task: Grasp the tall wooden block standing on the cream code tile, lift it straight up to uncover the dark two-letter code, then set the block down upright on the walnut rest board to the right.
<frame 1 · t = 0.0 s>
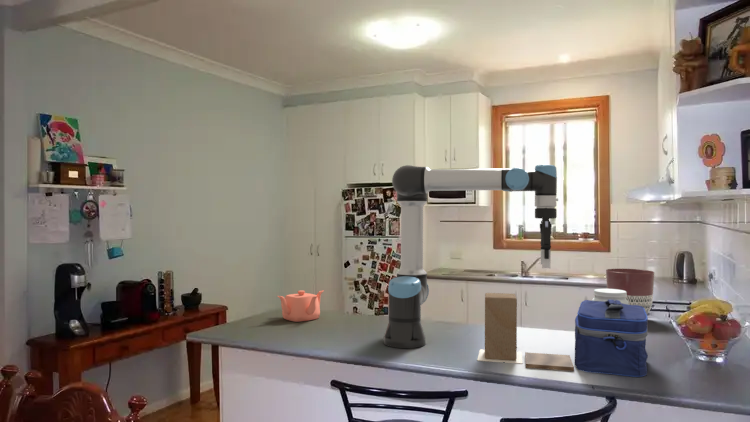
hand: (545, 266, 199), 28 cm above the counter, fingers open, 13 cm apart
pot: (302, 319, 242), on the counter
lunch bag: (610, 364, 174), on the counter
supplement tub: (609, 340, 206), on the counter
code tile: (500, 356, 182), on the counter
rest board: (548, 363, 174), on the counter
planter: (629, 319, 245), on the counter
wooden block: (500, 356, 182), resting on code tile
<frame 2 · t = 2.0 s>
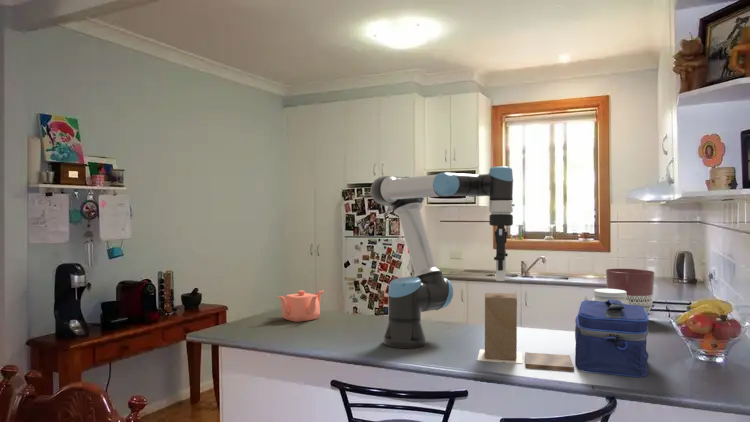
hand: (501, 278, 181), 26 cm above the counter, fingers open, 13 cm apart
nothing on the counter moved.
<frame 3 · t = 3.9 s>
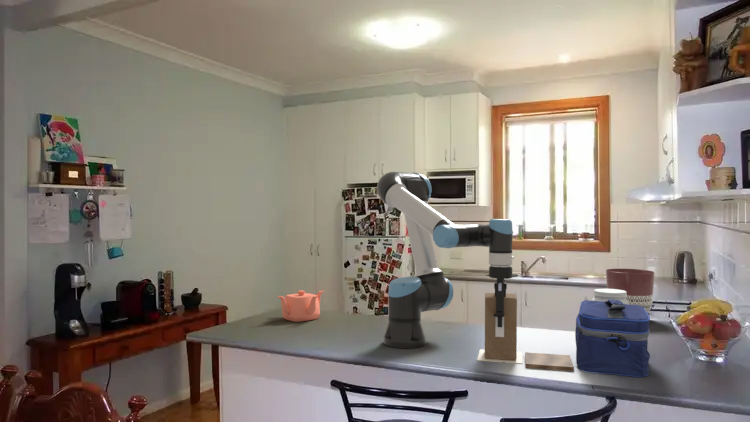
hand: (500, 333, 182), 8 cm above the counter, fingers closed on wooden block, 10 cm apart
wooden block: (500, 356, 182), resting on code tile, touching gripper
everything else where it was.
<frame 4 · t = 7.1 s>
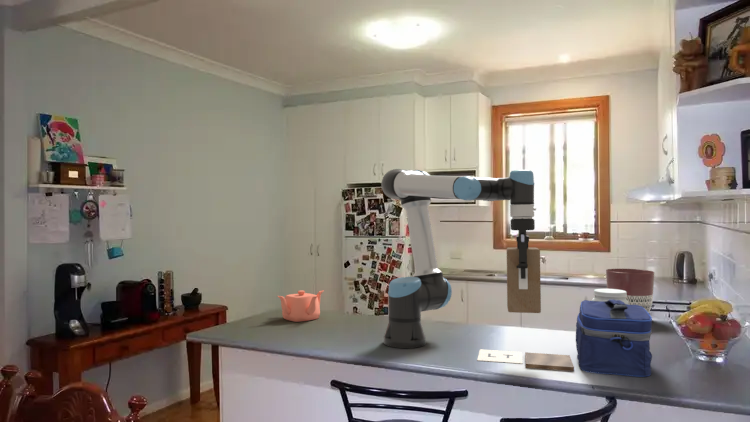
hand: (523, 286, 178), 24 cm above the counter, fingers closed on wooden block, 10 cm apart
wooden block: (523, 310, 178), point 16 cm above the counter, touching gripper
everything else where it was.
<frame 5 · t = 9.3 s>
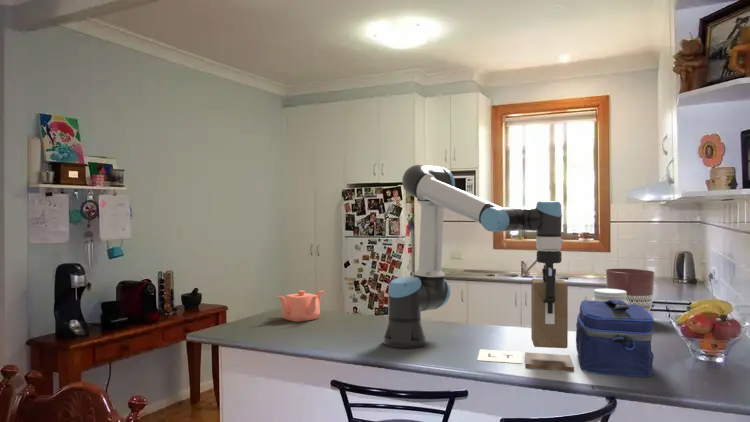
hand: (548, 320, 174), 14 cm above the counter, fingers closed on wooden block, 10 cm apart
wooden block: (548, 344, 174), point 6 cm above the counter, touching gripper
when the fingers open (10 cm above the counter, at t = 10.6 s): wooden block drops 1 cm, resting on rest board.
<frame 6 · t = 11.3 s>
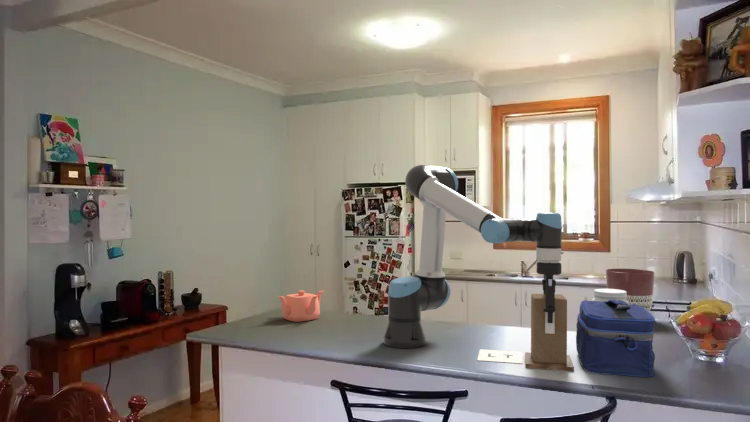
hand: (548, 328, 174), 11 cm above the counter, fingers open, 13 cm apart
wooden block: (548, 359, 174), point 1 cm above the counter, touching rest board
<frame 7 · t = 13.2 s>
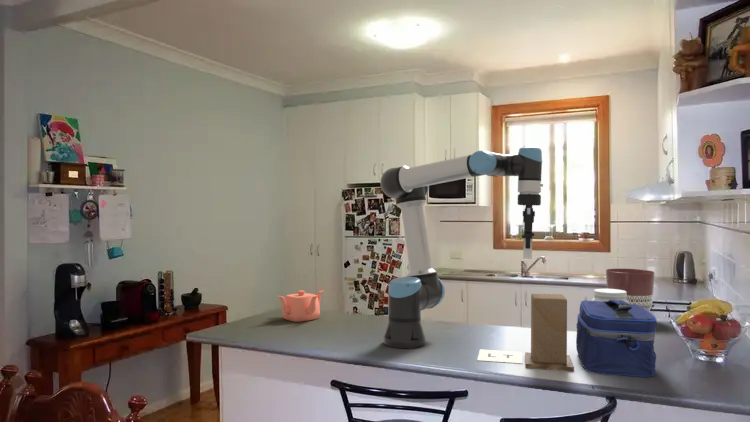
hand: (527, 256, 185), 33 cm above the counter, fingers open, 13 cm apart
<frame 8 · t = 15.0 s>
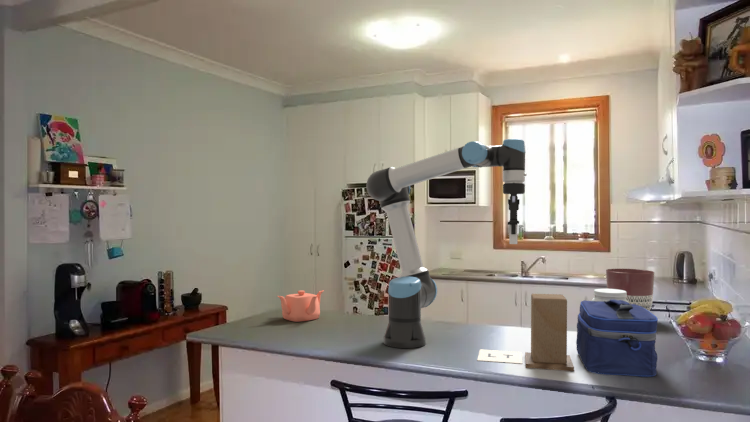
hand: (513, 242, 195), 37 cm above the counter, fingers open, 13 cm apart
at the end: wooden block inside the target area on the rest board (0.0 cm from its centre), point 1.0 cm above the rest board's base; wooden block tilted 0°; the gripper is holding nothing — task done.
